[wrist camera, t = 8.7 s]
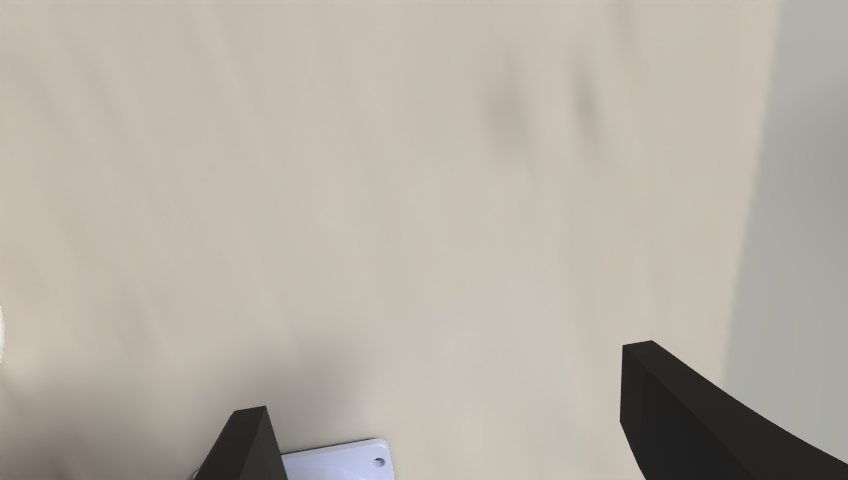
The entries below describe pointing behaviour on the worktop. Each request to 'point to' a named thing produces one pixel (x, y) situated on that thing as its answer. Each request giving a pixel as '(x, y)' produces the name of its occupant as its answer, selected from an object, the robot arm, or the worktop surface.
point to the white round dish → (2, 334)
